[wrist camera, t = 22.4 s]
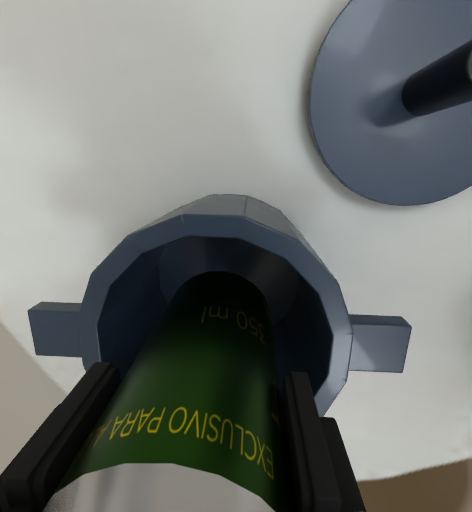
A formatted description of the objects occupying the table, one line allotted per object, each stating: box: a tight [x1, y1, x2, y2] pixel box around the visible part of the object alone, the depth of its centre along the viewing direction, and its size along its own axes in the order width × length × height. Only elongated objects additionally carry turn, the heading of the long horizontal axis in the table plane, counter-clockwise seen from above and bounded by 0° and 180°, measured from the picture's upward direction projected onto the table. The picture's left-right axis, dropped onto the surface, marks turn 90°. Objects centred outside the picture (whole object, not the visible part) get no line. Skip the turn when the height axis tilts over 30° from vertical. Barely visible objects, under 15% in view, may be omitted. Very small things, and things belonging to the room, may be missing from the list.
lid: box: [308, 0, 472, 206], centre depth 15 cm, size 13×13×7 cm
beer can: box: [42, 271, 296, 512], centre depth 11 cm, size 5×5×12 cm
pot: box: [28, 194, 412, 417], centre depth 18 cm, size 12×17×10 cm
